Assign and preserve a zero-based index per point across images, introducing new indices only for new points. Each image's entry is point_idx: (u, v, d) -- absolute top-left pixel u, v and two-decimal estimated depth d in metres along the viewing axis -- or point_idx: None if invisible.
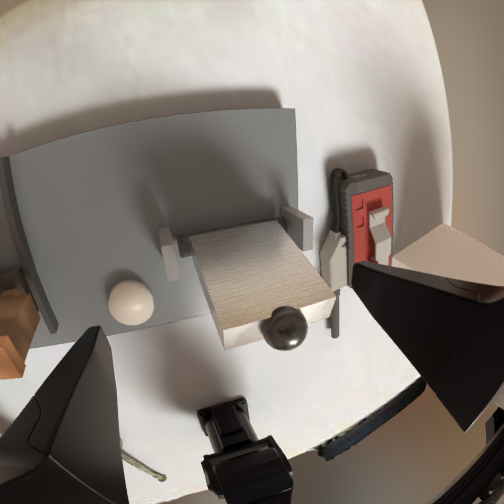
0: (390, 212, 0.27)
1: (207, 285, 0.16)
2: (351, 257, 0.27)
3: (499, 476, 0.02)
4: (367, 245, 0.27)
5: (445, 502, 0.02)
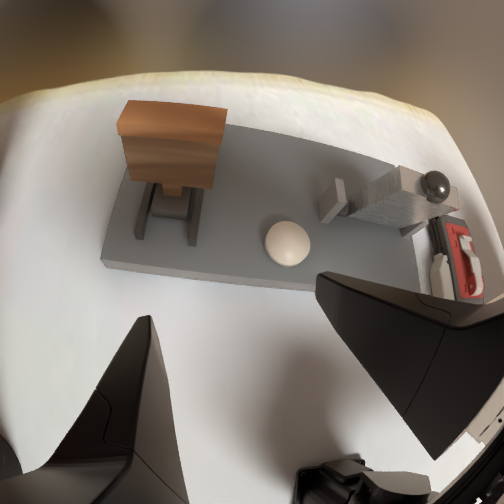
0: (472, 249, 0.29)
1: (376, 180, 0.20)
2: (454, 272, 0.27)
3: (499, 476, 0.02)
4: (463, 265, 0.27)
5: (445, 502, 0.02)
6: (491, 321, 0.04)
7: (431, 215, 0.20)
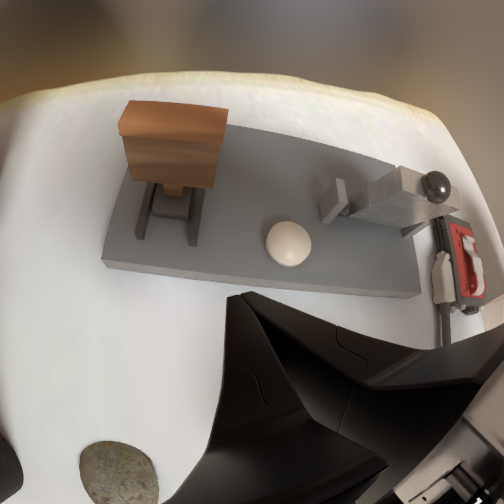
0: (475, 250, 0.29)
1: (376, 180, 0.20)
2: (456, 270, 0.27)
3: None
4: (465, 264, 0.27)
5: (445, 502, 0.02)
6: (407, 391, 0.03)
7: (432, 216, 0.20)
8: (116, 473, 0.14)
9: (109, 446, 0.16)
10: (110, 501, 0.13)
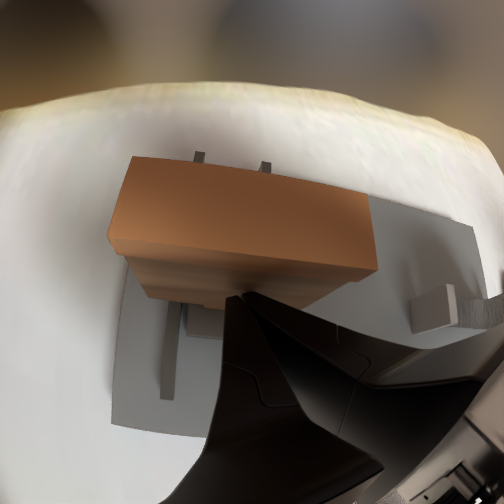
0: None
1: None
2: None
3: None
4: None
5: (445, 502, 0.02)
6: (409, 389, 0.03)
7: None
8: None
9: None
10: None
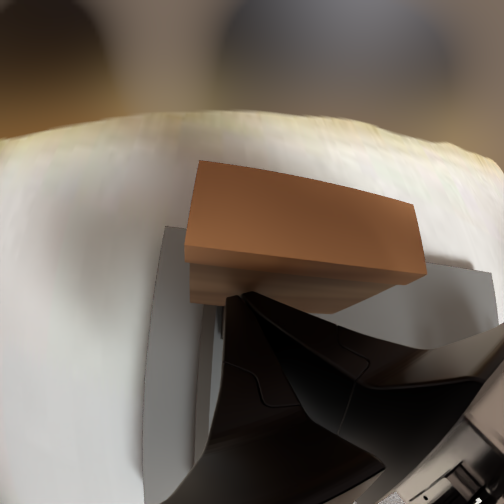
0: None
1: None
2: None
3: None
4: None
5: (445, 502, 0.02)
6: (408, 390, 0.03)
7: None
8: None
9: None
10: None
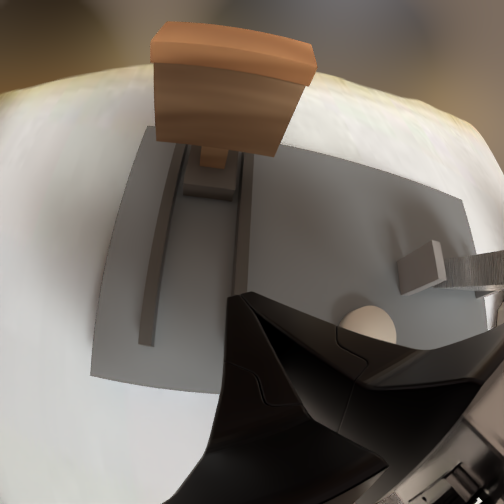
0: None
1: None
2: None
3: None
4: None
5: (445, 502, 0.02)
6: (407, 391, 0.03)
7: None
8: None
9: None
10: None
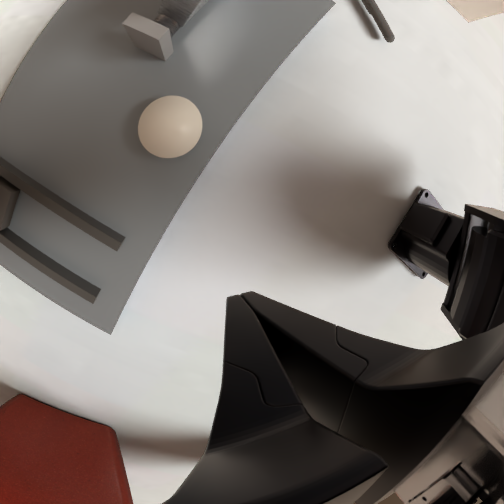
0: None
1: None
2: None
3: None
4: None
5: (445, 502, 0.02)
6: (407, 391, 0.03)
7: None
8: None
9: None
10: None
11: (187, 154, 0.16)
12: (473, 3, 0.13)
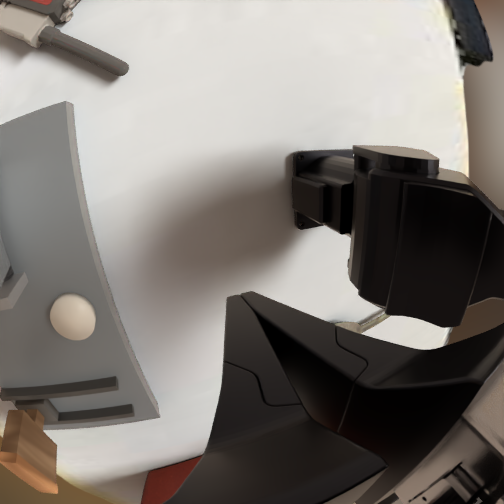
0: None
1: None
2: (19, 0, 0.07)
3: None
4: None
5: (445, 502, 0.02)
6: (407, 391, 0.03)
7: None
8: None
9: None
10: None
11: (97, 318, 0.19)
12: None
